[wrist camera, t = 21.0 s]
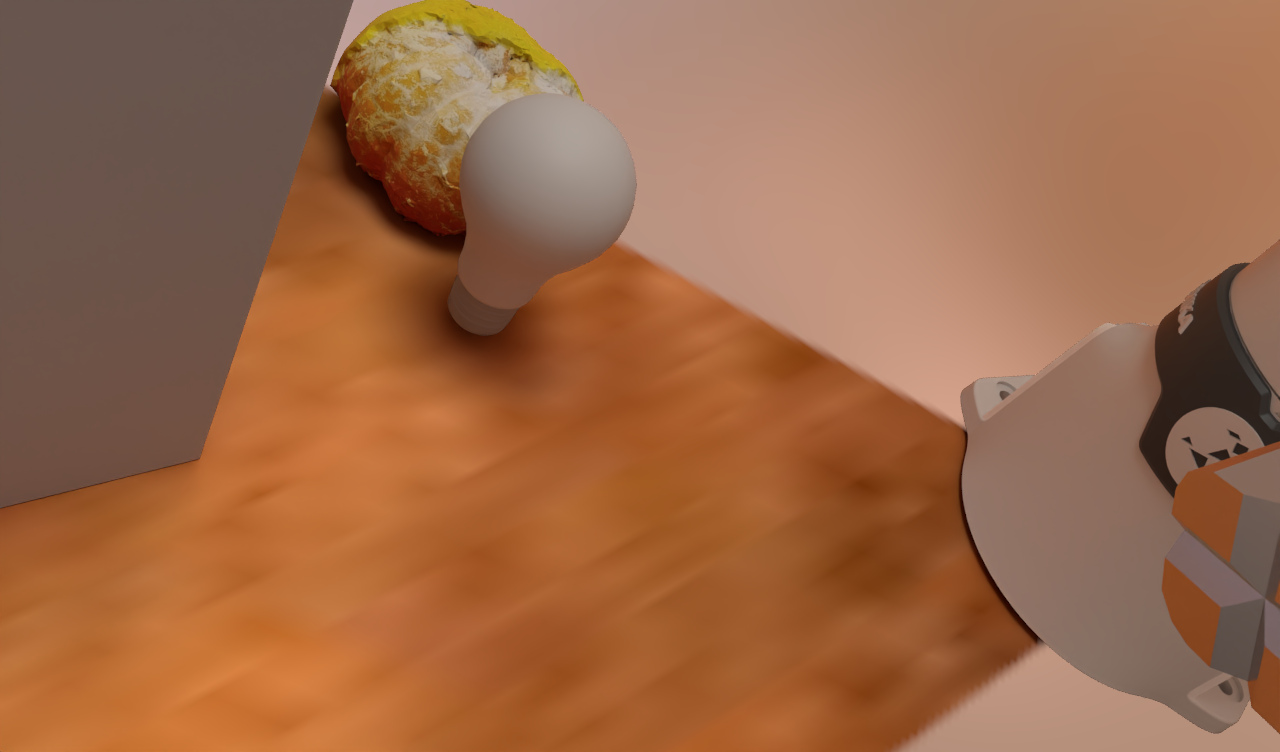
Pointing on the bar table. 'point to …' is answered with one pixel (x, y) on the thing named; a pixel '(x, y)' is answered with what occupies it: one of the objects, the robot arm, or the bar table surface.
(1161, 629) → the robot arm
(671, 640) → the bar table surface
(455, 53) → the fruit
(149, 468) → the stand
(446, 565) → the bar table surface
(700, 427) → the bar table surface
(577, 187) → the lightbulb
